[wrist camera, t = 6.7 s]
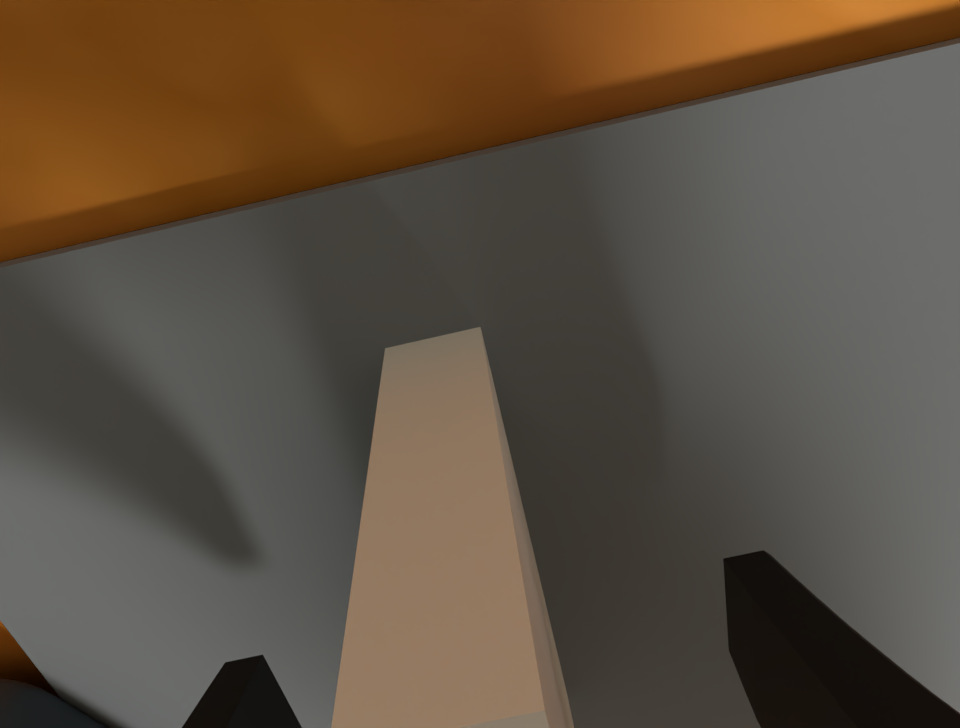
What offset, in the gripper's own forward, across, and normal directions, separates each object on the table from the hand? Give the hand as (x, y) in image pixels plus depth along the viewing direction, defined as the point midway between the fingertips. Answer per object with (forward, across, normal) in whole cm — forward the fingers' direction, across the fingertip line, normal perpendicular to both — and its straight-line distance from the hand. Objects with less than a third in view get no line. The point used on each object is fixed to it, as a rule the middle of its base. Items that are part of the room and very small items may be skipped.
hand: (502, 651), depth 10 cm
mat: (+2, -1, +1) cm, 3 cm away
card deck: (+2, 0, 0) cm, 2 cm away
